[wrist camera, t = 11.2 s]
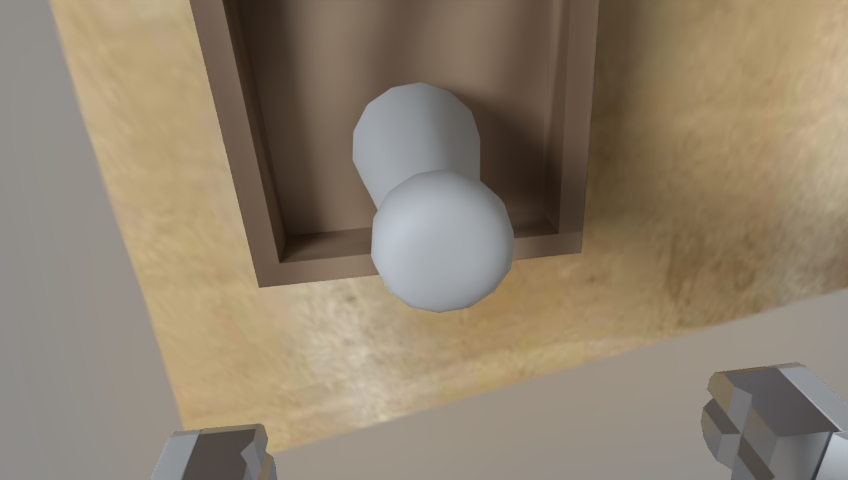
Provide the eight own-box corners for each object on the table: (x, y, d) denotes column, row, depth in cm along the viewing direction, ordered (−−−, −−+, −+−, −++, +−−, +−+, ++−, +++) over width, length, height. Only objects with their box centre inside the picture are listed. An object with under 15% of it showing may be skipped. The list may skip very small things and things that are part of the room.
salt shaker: (389, 49, 25) (412, 122, 14) (492, 110, 27) (589, 221, 15) (333, 157, 27) (309, 301, 16) (431, 207, 29) (477, 370, 17)
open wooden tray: (549, -107, 27) (629, -137, 19) (540, 198, 34) (594, 270, 26) (215, -83, 26) (147, -104, 18) (279, 224, 33) (252, 308, 25)
